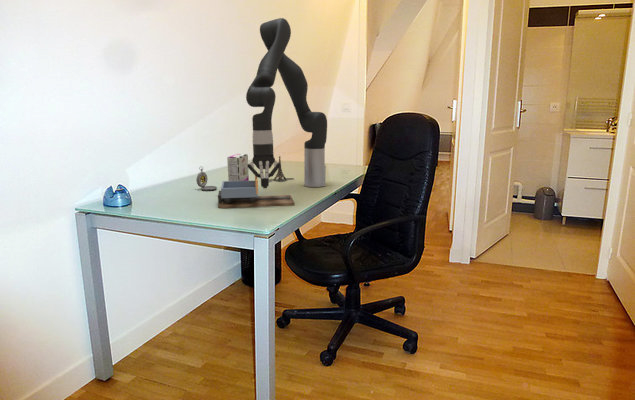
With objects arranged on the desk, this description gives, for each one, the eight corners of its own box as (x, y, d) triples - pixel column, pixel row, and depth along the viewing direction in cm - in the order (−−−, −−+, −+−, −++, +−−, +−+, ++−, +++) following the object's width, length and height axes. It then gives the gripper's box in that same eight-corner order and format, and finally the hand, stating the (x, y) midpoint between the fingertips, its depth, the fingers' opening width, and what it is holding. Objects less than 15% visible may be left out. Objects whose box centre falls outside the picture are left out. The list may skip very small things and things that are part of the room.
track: (290, 197, 182) (290, 187, 181) (294, 205, 168) (294, 194, 168) (219, 199, 177) (219, 189, 177) (218, 207, 164) (217, 197, 163)
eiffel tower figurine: (293, 179, 227) (293, 152, 224) (297, 182, 217) (297, 155, 214) (263, 180, 224) (263, 153, 221) (265, 183, 214) (265, 155, 211)
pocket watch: (216, 191, 194) (215, 168, 192) (196, 191, 193) (195, 168, 191) (217, 187, 202) (216, 165, 200) (198, 187, 201) (196, 165, 199)
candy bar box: (238, 191, 193) (237, 153, 190) (249, 192, 192) (248, 153, 189) (228, 197, 182) (226, 156, 179) (240, 197, 182) (238, 156, 178)
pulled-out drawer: (256, 195, 180) (256, 174, 178) (258, 203, 165) (257, 180, 164) (223, 196, 178) (222, 175, 176) (221, 204, 163) (220, 181, 162)
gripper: (279, 140, 173) (281, 185, 177) (244, 142, 171) (247, 186, 175) (281, 142, 166) (283, 189, 170) (245, 144, 164) (247, 190, 167)
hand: (264, 187), depth 172 cm, fingers closed
